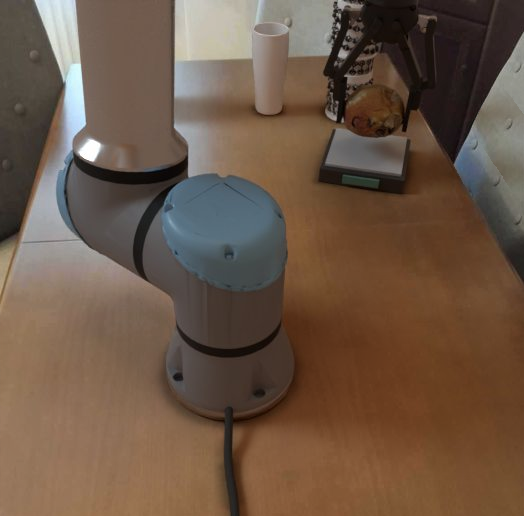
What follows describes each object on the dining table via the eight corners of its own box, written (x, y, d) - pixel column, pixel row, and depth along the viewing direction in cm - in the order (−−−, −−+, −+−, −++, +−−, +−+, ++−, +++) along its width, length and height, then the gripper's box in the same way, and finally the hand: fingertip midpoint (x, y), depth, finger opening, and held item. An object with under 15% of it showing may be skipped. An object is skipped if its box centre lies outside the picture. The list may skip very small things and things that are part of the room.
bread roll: (397, 137, 103) (404, 86, 100) (405, 140, 94) (413, 84, 91) (339, 133, 104) (345, 83, 101) (342, 136, 94) (348, 80, 91)
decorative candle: (314, 106, 119) (327, -38, 101) (355, 99, 122) (374, -43, 103) (336, 127, 114) (353, -22, 95) (378, 119, 116) (402, -28, 98)
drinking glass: (246, 105, 119) (245, 24, 108) (276, 99, 121) (279, 19, 110) (260, 120, 115) (261, 38, 104) (291, 114, 117) (296, 32, 106)
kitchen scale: (401, 195, 98) (405, 179, 96) (317, 183, 100) (319, 166, 98) (408, 152, 108) (411, 136, 106) (331, 141, 110) (333, 126, 108)
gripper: (480, -31, 83) (442, 122, 99) (320, -46, 86) (308, 105, 103) (480, -14, 78) (440, 144, 95) (310, -30, 81) (300, 125, 98)
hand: (371, 123), depth 99 cm, fingers closed on bread roll, 10 cm apart
